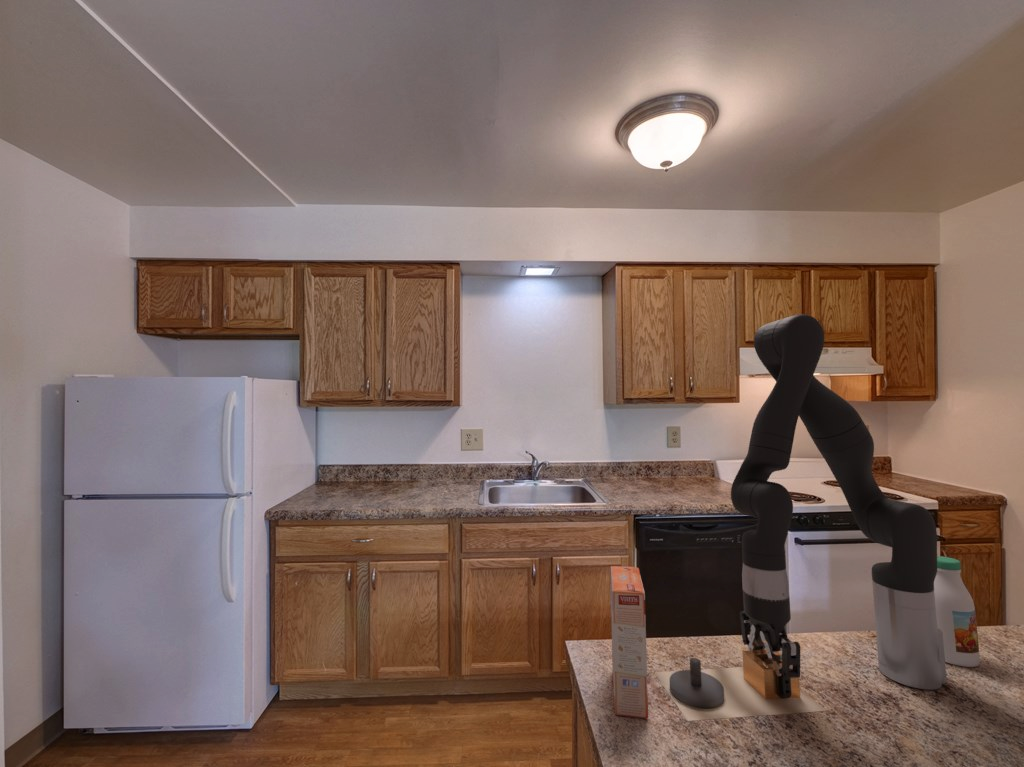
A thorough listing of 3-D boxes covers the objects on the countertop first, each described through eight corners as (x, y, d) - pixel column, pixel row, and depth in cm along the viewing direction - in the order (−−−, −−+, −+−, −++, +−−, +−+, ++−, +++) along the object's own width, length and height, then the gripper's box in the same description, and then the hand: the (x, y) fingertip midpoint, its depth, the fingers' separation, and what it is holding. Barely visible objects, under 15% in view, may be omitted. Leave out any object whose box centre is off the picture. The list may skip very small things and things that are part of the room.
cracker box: (650, 721, 76) (646, 592, 78) (614, 716, 77) (610, 590, 79) (643, 674, 90) (639, 565, 91) (612, 671, 91) (609, 564, 92)
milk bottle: (938, 664, 91) (930, 562, 93) (921, 646, 99) (913, 551, 100) (989, 671, 89) (979, 566, 90) (967, 652, 96) (959, 555, 97)
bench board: (772, 672, 89) (770, 636, 90) (827, 720, 75) (824, 676, 76) (654, 680, 87) (652, 643, 88) (688, 730, 73) (686, 685, 74)
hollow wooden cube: (776, 676, 86) (774, 648, 86) (800, 697, 79) (798, 667, 80) (743, 678, 85) (742, 650, 85) (765, 699, 79) (763, 669, 79)
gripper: (813, 605, 77) (820, 709, 75) (760, 575, 91) (765, 662, 90) (771, 607, 76) (777, 712, 75) (724, 577, 90) (728, 664, 89)
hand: (770, 684), depth 82 cm, fingers closed on hollow wooden cube, 6 cm apart
